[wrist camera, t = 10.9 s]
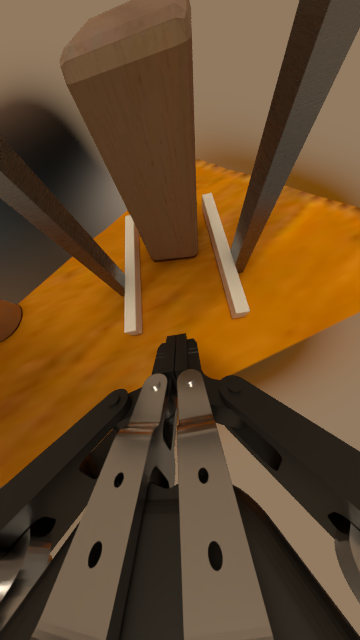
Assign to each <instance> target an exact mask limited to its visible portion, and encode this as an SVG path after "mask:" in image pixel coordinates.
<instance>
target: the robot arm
mask: <svg viewBox="0 0 360 640" xmlns="http://www.w3.org/2000/svg"><path fill="white" fill-rule="evenodd" d="M20 319H21V308H20V307H19V306H18V305H17V304H14V303H11V302H7V301H4V300H1V299H0V341H2V340H4V339H6V338H7V337H8V336H9V335H11V334H12V333H13V331H14V330H15V329H16V328H17V326H18V324H19V322H20ZM177 397H178V408H179V425H178V427H177V451H178V482H179V484H177V485H175V486H174V481H175V458H174V446H175V435H176V423H177V413H178V408H177ZM216 423H219V424H222V425H225V427H226V428H227V429H228V430H229V431H230V432H231V433H232V434H233V435H234V436H235V437H236V438H237V439H238V440H239V441H240V443H241V444H243V446H244V447H245V448H246V449H247V450H248V451H249V452H250V453H251V454H252V455H253V456H254V457H255V458H256V459H257V460H258V461H259V462H260V463H261V464H262V465H263V466H264V467H265V468H266V469H267V470H268V471H269V472H270V473H271V474H272V475H273V477H274V478H275V479H276V480H277V481H278V482H279V483H280V484H281V485H282V486H283V487H284V488H285V489H286V490H287V491H288V492H289V493H290V494H291V495H292V496H293V497H294V498H295V499H296V500H297V501H298V502H299V503H300V504H301V505H302V506H303V507H304V508H305V509H306V510H307V512H309V514H310V515H311V516H312V517H313V518H314V519H315V520H316V521H317V522H318V523H319V524H320V525H321V526H322V527H323V528H324V529H325V530H326V531H327V532H328V533H329V534H330V535H331V536H332V537H333V538H334V539H335V551H336V555H337V559H338V562H339V565H340V567H341V570H342V572H343V574H344V577H345V579H346V581H347V583H348V585H349V587H350V588H351V590H352V592H353V593H354V595H355V597H356V599H357V600H358V602H359V603H360V452H359V451H358V450H356V449H355V448H353V447H352V446H350V445H348V444H347V443H345V442H343V441H342V440H340V439H339V438H337V437H335V436H334V435H332V434H331V433H329V432H327V431H326V430H324V429H323V428H321V427H319V426H318V425H316V424H315V423H313V422H311V421H310V420H308V419H306V418H305V417H303V416H302V415H300V414H299V413H297V412H295V411H294V410H292V409H291V408H289V407H287V406H286V405H284V404H283V403H281V402H279V401H278V400H276V399H274V398H273V397H271V396H270V395H268V394H266V393H265V392H263V391H262V390H260V389H258V388H257V387H255V386H254V385H252V384H250V383H249V382H247V381H245V380H244V379H242V378H241V377H238V376H234V375H230V376H226V377H224V378H223V379H222V380H215V379H211V378H209V377H207V376H206V375H204V374H203V372H202V370H201V365H200V359H199V353H198V348H197V342H196V341H195V340H194V339H187V336H186V333H185V334H179V335H173V336H167V340H166V343H163V344H161V345H160V346H159V348H158V351H157V355H156V359H155V363H154V367H153V371H152V375H151V376H150V377H148V378H147V379H146V381H145V382H144V384H143V387H141V388H139V389H137V390H135V391H133V392H130V393H127V391H126V390H124V389H118V390H115V391H113V392H112V393H110V394H109V395H108V396H107V397H105V398H104V399H103V400H102V401H101V402H100V403H99V404H97V405H96V406H95V407H94V408H93V409H92V410H91V411H89V412H88V413H87V414H86V415H85V416H84V417H83V418H81V419H80V420H79V421H78V422H77V423H76V424H75V425H73V426H72V427H71V428H70V429H69V430H68V431H66V432H65V433H64V434H63V435H62V436H61V437H60V438H58V439H57V440H56V441H55V442H54V443H53V444H52V445H50V446H49V447H48V448H47V449H46V450H45V451H44V452H42V453H41V454H40V455H39V456H38V457H37V458H35V459H34V460H33V461H32V462H31V463H30V464H29V465H27V466H26V467H25V468H24V469H23V470H22V471H21V472H19V473H18V474H17V475H16V476H15V477H14V478H13V479H11V480H10V481H9V482H8V483H7V484H6V485H5V486H3V487H2V488H1V489H0V640H360V636H359V635H358V634H357V632H356V631H355V630H354V628H353V627H352V626H351V624H350V623H349V622H348V620H347V619H346V618H345V617H344V615H343V614H342V613H341V611H340V610H339V609H338V607H337V606H336V605H335V603H334V602H333V601H332V599H331V598H330V597H329V595H328V594H327V593H326V591H325V590H324V589H323V587H322V586H321V585H320V583H319V582H318V581H317V579H316V578H315V577H314V575H313V574H312V573H311V571H310V570H309V569H308V567H307V566H306V565H305V564H304V562H303V561H302V560H301V558H300V557H299V556H298V554H297V553H296V552H295V551H294V549H293V548H292V546H291V545H290V544H289V543H288V541H287V540H286V539H285V537H284V536H283V534H282V533H281V532H280V530H279V529H278V528H277V526H276V525H275V524H274V523H273V521H272V520H271V519H270V517H269V516H268V515H267V514H266V512H265V511H264V510H263V509H262V508H261V507H260V506H259V505H258V503H256V502H255V501H254V500H253V499H252V498H251V497H250V496H249V495H248V494H246V493H245V492H244V491H242V490H241V489H240V488H238V487H236V486H234V485H232V482H231V478H230V475H229V471H228V467H227V464H226V460H225V456H224V452H223V449H222V445H221V441H220V438H219V434H218V430H217V427H216ZM112 429H113V430H112ZM111 430H112V431H111ZM110 431H111V432H110ZM109 432H110V433H109ZM108 433H109V434H108ZM107 434H108V435H107ZM106 435H107V436H106ZM105 436H106V437H105ZM104 437H105V438H104ZM103 438H104V439H103ZM102 439H103V440H102ZM101 440H102V442H101V443H100V444H99V445H98V443H99V442H100V441H101ZM97 445H98V446H97ZM96 446H97V447H96ZM95 447H96V448H95ZM94 448H95V449H94ZM93 449H94V450H93ZM92 450H93V451H92ZM91 451H92V452H91ZM86 506H87V507H86ZM85 507H86V509H85V511H84V514H83V517H82V519H81V521H80V522H79V524H78V525H77V526H76V528H75V529H74V530H73V532H72V533H71V535H70V536H69V537H68V539H67V540H66V541H65V543H64V544H63V546H62V547H61V549H60V550H59V551H58V553H57V554H56V555H55V557H54V558H53V559H52V556H51V555H50V552H51V551H52V550H53V548H54V547H55V546H56V544H57V543H58V542H59V541H60V539H61V538H62V537H63V536H64V534H65V533H66V532H67V530H68V529H69V528H70V526H71V525H72V524H73V523H74V521H75V520H76V519H77V517H78V516H79V515H80V513H81V512H82V511H83V510H84V508H85Z"/></svg>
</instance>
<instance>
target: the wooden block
mask: <svg viewBox="0 0 360 640" xmlns="http://www.w3.org/2000/svg"><path fill="white" fill-rule="evenodd" d="M60 65H61V69H62V73H63V76H64V79H65V82H66V84H67V86H68V88H69V91H70V93H71V95H72V96H73V99H74V101H75V103H76V105H77V107H78V109H79V111H80V113H81V115H82V117H83V119H84V121H85V123H86V125H87V127H88V129H89V132H90V134H91V136H92V138H93V139H94V142H95V144H96V146H97V148H98V150H99V152H100V154H101V156H102V158H103V160H104V162H105V164H106V166H107V168H108V170H109V173H110V174H111V177H112V179H113V181H114V183H115V185H116V187H117V189H118V191H119V193H120V195H121V197H122V199H123V201H124V203H125V205H126V207H127V209H128V211H129V213H130V216H131V218H132V220H133V222H134V224H135V226H136V228H137V230H138V232H139V234H140V236H141V238H142V240H143V242H144V244H145V246H146V248H147V250H148V252H149V254H150V256H151V258H152V259H153V260H165V259H174V258H183V257H193V256H195V255H196V253H197V251H198V240H197V204H196V169H195V134H194V99H193V62H192V29H191V7H190V2H189V0H131V1H129V2H127V3H125V4H122V5H120V6H118V7H115V8H113V9H111V10H109V11H106V12H105V13H102V14H100V15H97V16H95V17H93V18H91V19H89V20H88V21H87V22H86V23H85V24H84V26H83V27H82V28H81V29H80V30H79V31H78V33H77V34H76V35H75V36H74V37H73V38H72V40H71V41H70V42H69V43H68V44H67V45H66V47H65V48H64V49H63V53H62V55H61V59H60Z"/></svg>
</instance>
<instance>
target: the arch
mask: <svg viewBox="0 0 360 640" xmlns="http://www.w3.org/2000/svg"><path fill="white" fill-rule="evenodd" d="M359 28H360V0H299V4H298V8H297V11H296V15H295V19H294V22H293V26H292V30H291V33H290V37H289V41H288V44H287V48H286V51H285V55H284V59H283V62H282V66H281V70H280V73H279V77H278V81H277V84H276V88H275V91H274V95H273V99H272V102H271V106H270V110H269V114H268V117H267V121H266V124H265V128H264V132H263V135H262V139H261V143H260V146H259V150H258V154H257V157H256V161H255V164H254V168H253V172H252V175H251V179H250V182H249V186H248V190H247V193H246V197H245V201H244V204H243V208H242V212H241V215H240V219H239V223H238V226H237V230H236V233H235V237H234V241H233V244H232V248H231V254H232V257H233V260H234V263H235V266H236V269H237V273H241V272H243V270H244V268H245V266H246V264H247V262H248V260H249V258H250V256H251V254H252V252H253V249H254V247H255V245H256V243H257V241H258V239H259V237H260V235H261V233H262V231H263V229H264V226H265V224H266V222H267V220H268V218H269V216H270V214H271V212H272V210H273V208H274V206H275V203H276V201H277V199H278V197H279V195H280V193H281V191H282V189H283V187H284V185H285V182H286V180H287V178H288V176H289V174H290V172H291V170H292V168H293V166H294V163H295V162H296V160H297V157H298V155H299V153H300V151H301V149H302V147H303V145H304V143H305V141H306V138H307V136H308V134H309V132H310V130H311V128H312V126H313V124H314V122H315V120H316V118H317V116H318V114H319V111H320V109H321V107H322V105H323V103H324V101H325V99H326V97H327V95H328V93H329V91H330V88H331V86H332V84H333V82H334V80H335V78H336V76H337V74H338V72H339V70H340V68H341V65H342V63H343V61H344V59H345V57H346V55H347V53H348V51H349V49H350V47H351V44H352V42H353V40H354V38H355V36H356V34H357V32H358V30H359ZM0 198H1V199H2V200H4V201H5V202H6V203H7V204H9V205H10V206H11V207H12V208H14V209H15V210H16V211H17V212H19V213H20V214H21V215H22V216H23V217H25V218H26V219H28V221H30V222H31V223H32V224H33V225H35V226H36V227H37V228H38V229H40V230H41V231H42V232H43V233H45V234H46V235H47V236H48V237H50V238H51V239H52V240H53V241H54V242H56V243H57V244H58V245H60V246H61V247H62V248H63V249H64V250H66V251H67V252H68V253H69V254H71V255H72V256H73V257H74V258H76V259H77V260H78V261H79V262H80V263H82V264H83V265H84V266H85V267H87V268H88V269H89V270H90V271H92V272H93V273H94V274H95V275H97V276H98V277H99V278H100V279H102V280H103V281H104V282H105V283H107V284H108V285H109V286H110V287H111V288H113V289H114V290H115V291H116V292H118V293H119V294H120V295H121V296H125V274H124V273H123V272H122V271H121V270H120V269H119V268H118V266H117V265H116V264H115V263H114V262H113V261H112V260H111V259H110V258H109V256H108V255H107V254H106V253H105V252H104V251H103V250H102V249H101V247H100V246H99V245H98V244H97V243H96V242H95V241H94V240H93V239H92V237H91V236H90V235H89V234H88V233H87V232H86V231H85V230H84V229H83V228H82V226H81V225H80V224H79V223H78V222H77V221H76V220H75V219H74V217H73V216H72V215H71V214H70V213H69V212H68V211H67V210H66V208H65V207H63V205H62V204H61V203H60V202H59V201H58V199H57V198H56V197H55V196H54V195H53V194H52V193H51V192H50V191H49V189H48V188H47V187H46V186H45V185H44V184H43V183H42V182H41V180H40V179H39V178H38V177H37V176H36V175H35V174H34V173H33V172H32V170H31V169H30V168H29V167H28V166H27V165H26V164H25V163H24V162H23V160H22V159H21V158H20V157H19V156H18V155H17V154H16V153H15V152H14V150H13V149H12V148H11V147H10V146H9V145H8V144H7V142H6V141H5V140H4V139H3V138H2V137H1V136H0Z"/></svg>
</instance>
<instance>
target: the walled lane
mask: <svg viewBox="0 0 360 640" xmlns="http://www.w3.org/2000/svg"><path fill="white" fill-rule="evenodd" d="M202 209H203V213H204V217H205V220H206V224H207V228H208V231H209V235H210V239H211V242H212V246H213V250H214V253H215V257H216V261H217V264H218V268H219V272H220V275H221V279H222V282H223V286H224V290H225V293H226V297H227V301H228V304H229V308H230V312H231V315H232V319H233V318H239V317H245V316H246V315H247V314H248V313H249V312H250V309H249V306H248V303H247V300H246V297H245V294H244V291H243V288H242V285H241V282H240V279H239V276H238V273H237V269H236V266H235V263H234V260H233V257H232V254H231V251H230V248H229V245H228V242H227V239H226V236H225V233H224V230H223V227H222V224H221V220H220V217H219V214H218V211H217V208H216V205H215V202H214V199H213V196H212V193H208V194H205V195H202ZM124 333H127V334H130V335H137V334H142V308H141V281H140V254H139V232H138V230H137V228H136V226H135V224H134V222H133V220H132V218H131V216H130V215H128V216H125V326H124Z"/></svg>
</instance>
